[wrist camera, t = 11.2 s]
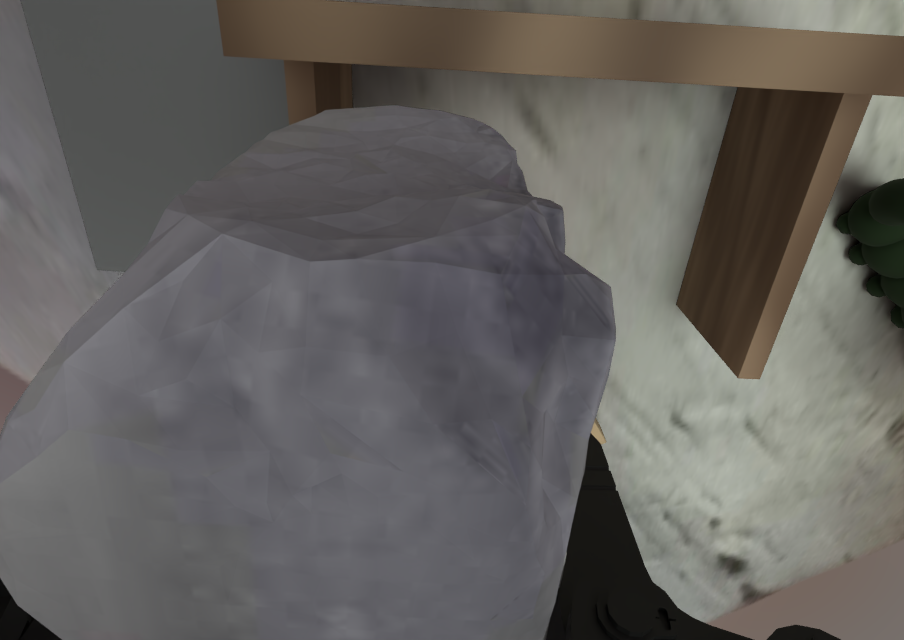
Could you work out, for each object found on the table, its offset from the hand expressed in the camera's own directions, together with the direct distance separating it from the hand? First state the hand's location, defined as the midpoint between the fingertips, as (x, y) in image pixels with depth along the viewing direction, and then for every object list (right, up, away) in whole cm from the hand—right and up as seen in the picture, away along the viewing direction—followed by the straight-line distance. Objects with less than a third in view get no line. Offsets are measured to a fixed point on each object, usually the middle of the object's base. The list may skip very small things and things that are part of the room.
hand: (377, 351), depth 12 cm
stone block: (+2, 0, +1) cm, 2 cm away
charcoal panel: (-14, +12, +19) cm, 26 cm away
